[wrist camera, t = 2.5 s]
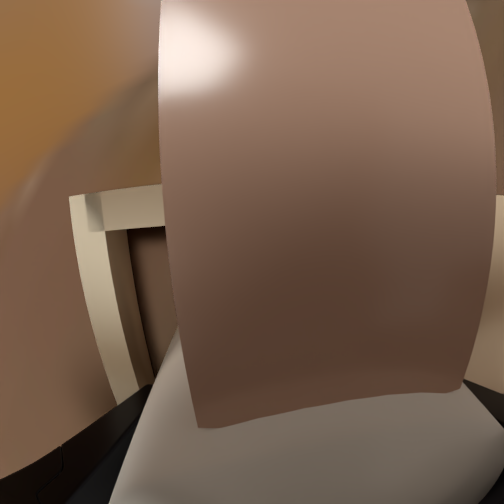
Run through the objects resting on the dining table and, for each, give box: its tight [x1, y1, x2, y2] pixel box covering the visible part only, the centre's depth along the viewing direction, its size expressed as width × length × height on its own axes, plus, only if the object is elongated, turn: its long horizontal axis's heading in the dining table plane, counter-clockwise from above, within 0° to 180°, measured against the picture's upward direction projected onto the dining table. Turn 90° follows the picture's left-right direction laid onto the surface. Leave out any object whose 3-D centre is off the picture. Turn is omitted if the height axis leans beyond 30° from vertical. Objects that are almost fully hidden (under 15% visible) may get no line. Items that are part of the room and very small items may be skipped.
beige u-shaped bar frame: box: [69, 184, 165, 405], centre depth 9 cm, size 11×9×2 cm
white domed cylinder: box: [109, 0, 504, 504], centre depth 6 cm, size 11×7×7 cm, turn 3°
